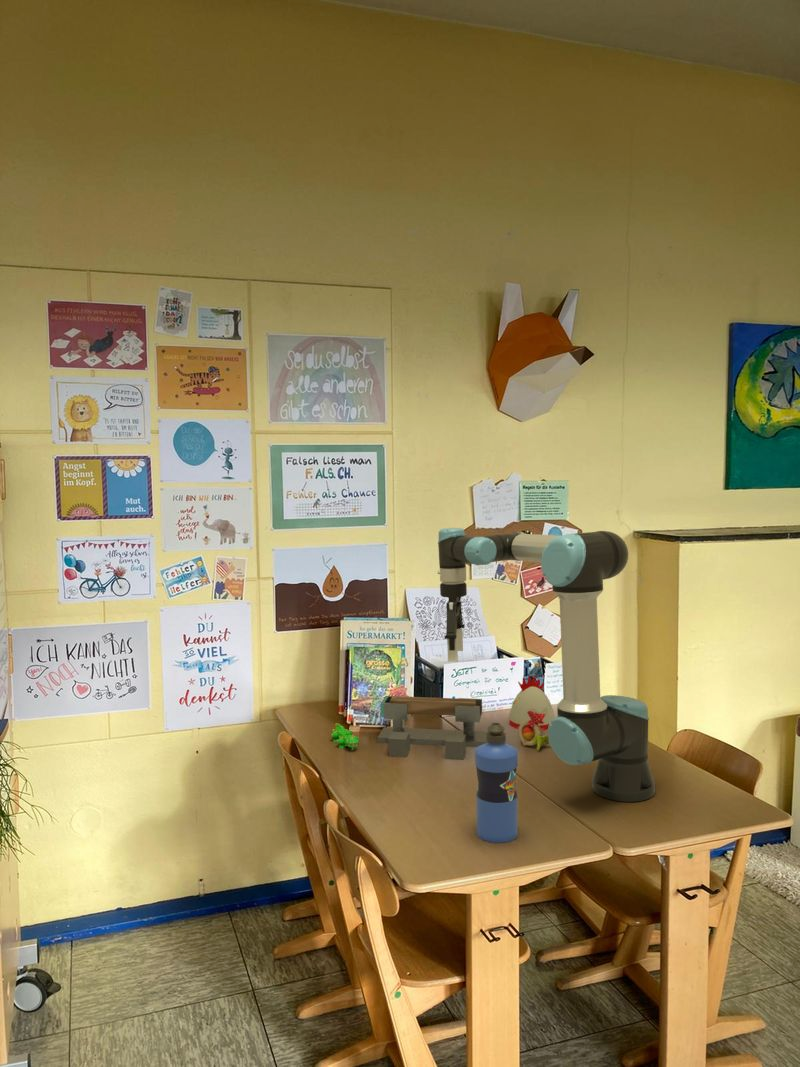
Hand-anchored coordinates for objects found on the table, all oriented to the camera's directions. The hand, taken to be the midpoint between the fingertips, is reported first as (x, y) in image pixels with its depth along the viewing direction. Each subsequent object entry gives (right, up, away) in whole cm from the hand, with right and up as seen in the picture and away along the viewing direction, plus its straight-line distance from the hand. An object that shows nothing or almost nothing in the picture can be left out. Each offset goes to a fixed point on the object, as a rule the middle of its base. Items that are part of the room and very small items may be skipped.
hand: (455, 656), depth 239 cm
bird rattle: (+22, -26, -1) cm, 34 cm away
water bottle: (+6, -32, -54) cm, 63 cm away
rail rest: (-8, -27, -5) cm, 28 cm away
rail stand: (-6, -26, +7) cm, 27 cm away
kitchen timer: (+25, -24, +19) cm, 40 cm away
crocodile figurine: (-32, -27, +6) cm, 42 cm away
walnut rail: (-6, -18, +6) cm, 20 cm away
